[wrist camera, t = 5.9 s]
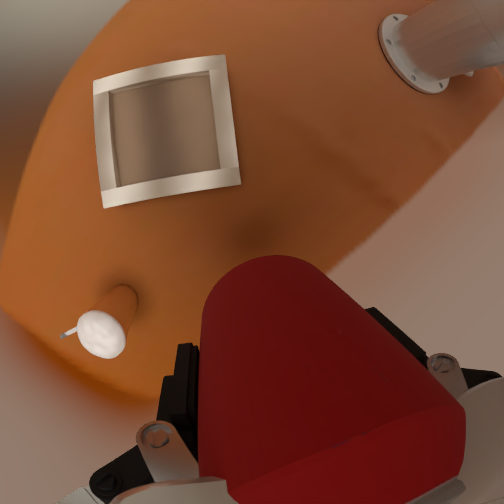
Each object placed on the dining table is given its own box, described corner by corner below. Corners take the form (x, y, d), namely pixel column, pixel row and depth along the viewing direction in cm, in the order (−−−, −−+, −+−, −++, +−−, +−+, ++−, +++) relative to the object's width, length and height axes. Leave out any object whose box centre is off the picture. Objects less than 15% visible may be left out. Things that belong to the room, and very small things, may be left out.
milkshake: (100, 272, 27) (59, 312, 17) (146, 284, 28) (120, 331, 18) (97, 309, 28) (62, 358, 18) (141, 321, 29) (119, 376, 19)
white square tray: (222, 71, 24) (225, 54, 20) (236, 184, 27) (241, 184, 23) (107, 93, 22) (93, 80, 18) (118, 204, 25) (103, 208, 21)
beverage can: (256, 384, 15) (309, 578, 4) (173, 308, 13) (129, 572, 2) (351, 315, 15) (495, 476, 3) (283, 220, 13) (534, 401, 1)
